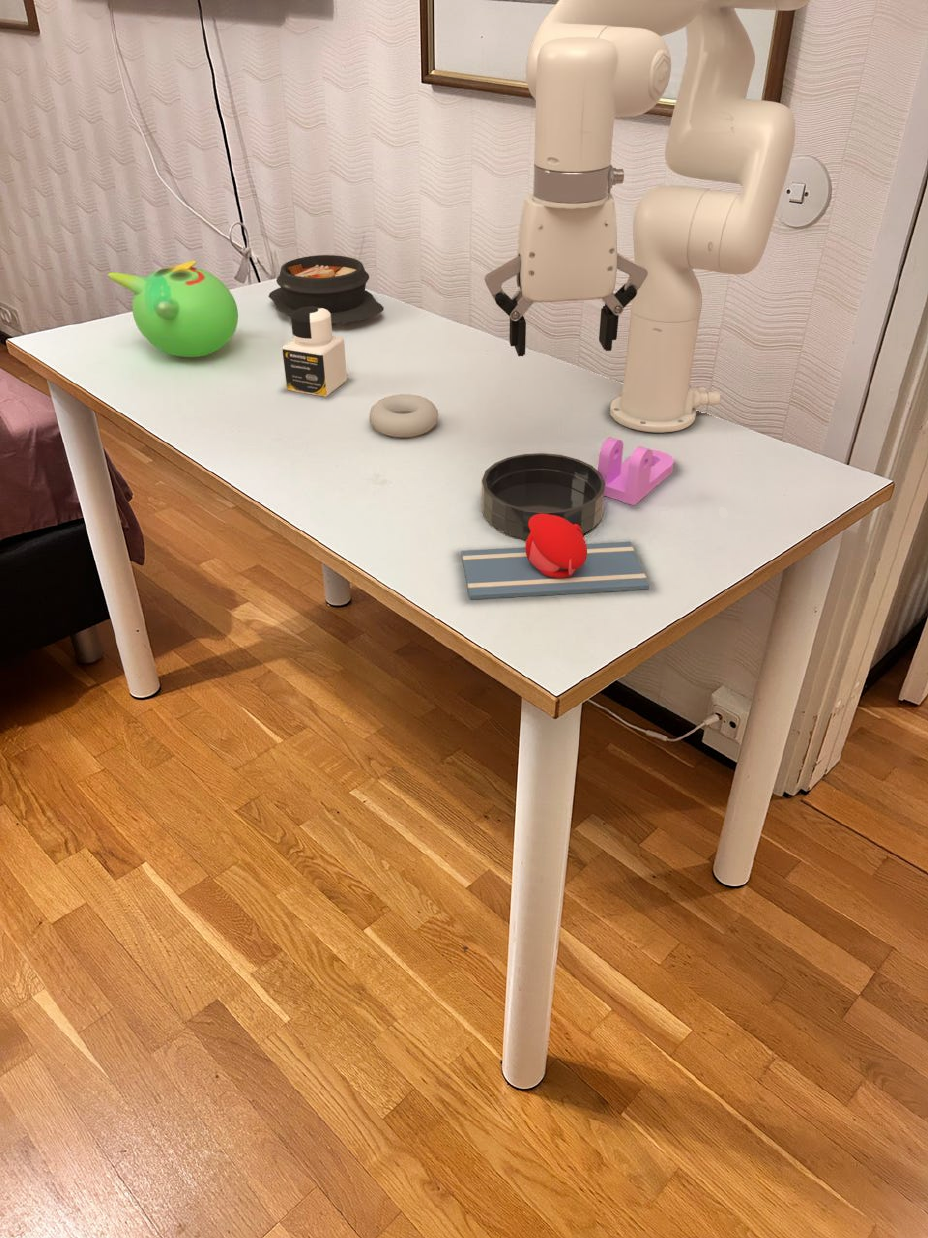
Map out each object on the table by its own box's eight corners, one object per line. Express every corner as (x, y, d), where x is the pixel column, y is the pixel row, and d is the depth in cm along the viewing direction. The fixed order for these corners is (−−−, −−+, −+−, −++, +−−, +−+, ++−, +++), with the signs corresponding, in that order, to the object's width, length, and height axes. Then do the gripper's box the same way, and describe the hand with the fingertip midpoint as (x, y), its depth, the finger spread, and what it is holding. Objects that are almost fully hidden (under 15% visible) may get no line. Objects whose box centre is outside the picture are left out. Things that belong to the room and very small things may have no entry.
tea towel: (629, 545, 111) (629, 540, 110) (648, 589, 104) (649, 584, 103) (461, 554, 109) (461, 549, 109) (469, 599, 102) (469, 594, 102)
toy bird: (262, 352, 160) (250, 263, 151) (179, 381, 150) (161, 288, 141) (199, 327, 169) (184, 243, 160) (116, 353, 159) (96, 265, 150)
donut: (362, 439, 134) (430, 444, 132) (359, 416, 132) (429, 421, 130) (380, 409, 142) (445, 414, 140) (379, 388, 139) (444, 392, 138)
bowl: (588, 479, 124) (591, 450, 121) (614, 539, 112) (617, 509, 109) (475, 484, 123) (476, 455, 120) (489, 546, 111) (490, 515, 108)
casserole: (246, 307, 178) (240, 262, 173) (324, 285, 188) (320, 242, 183) (327, 341, 163) (323, 293, 158) (407, 316, 174) (405, 269, 169)
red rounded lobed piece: (598, 568, 106) (603, 522, 102) (566, 590, 102) (569, 544, 99) (544, 542, 110) (546, 497, 107) (510, 563, 107) (512, 517, 103)
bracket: (633, 505, 118) (640, 455, 114) (595, 492, 121) (600, 443, 117) (679, 466, 127) (686, 418, 123) (642, 455, 129) (648, 407, 125)
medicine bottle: (286, 390, 147) (277, 314, 140) (309, 374, 152) (301, 299, 145) (326, 397, 145) (319, 320, 137) (348, 380, 150) (342, 305, 143)
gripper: (645, 170, 97) (630, 331, 107) (480, 178, 95) (480, 340, 106) (666, 189, 91) (647, 357, 102) (490, 197, 90) (489, 367, 100)
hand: (562, 348), depth 104 cm, fingers open, 9 cm apart
